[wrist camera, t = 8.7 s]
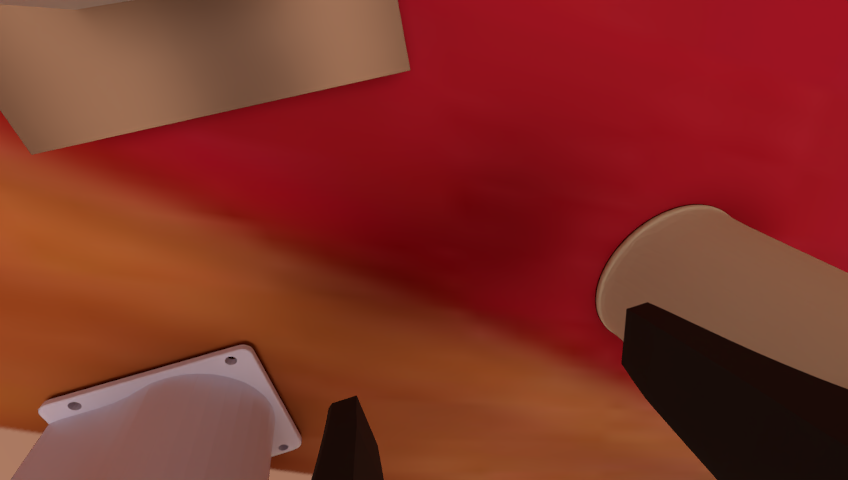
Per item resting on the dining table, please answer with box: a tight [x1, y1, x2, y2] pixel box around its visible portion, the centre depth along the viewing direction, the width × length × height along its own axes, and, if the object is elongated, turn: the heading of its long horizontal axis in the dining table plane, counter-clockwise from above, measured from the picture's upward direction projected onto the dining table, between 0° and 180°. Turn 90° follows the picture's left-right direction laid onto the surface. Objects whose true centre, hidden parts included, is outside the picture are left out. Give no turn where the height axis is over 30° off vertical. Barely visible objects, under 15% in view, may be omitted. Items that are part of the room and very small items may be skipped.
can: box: [596, 205, 848, 389], centre depth 18 cm, size 9×9×12 cm
